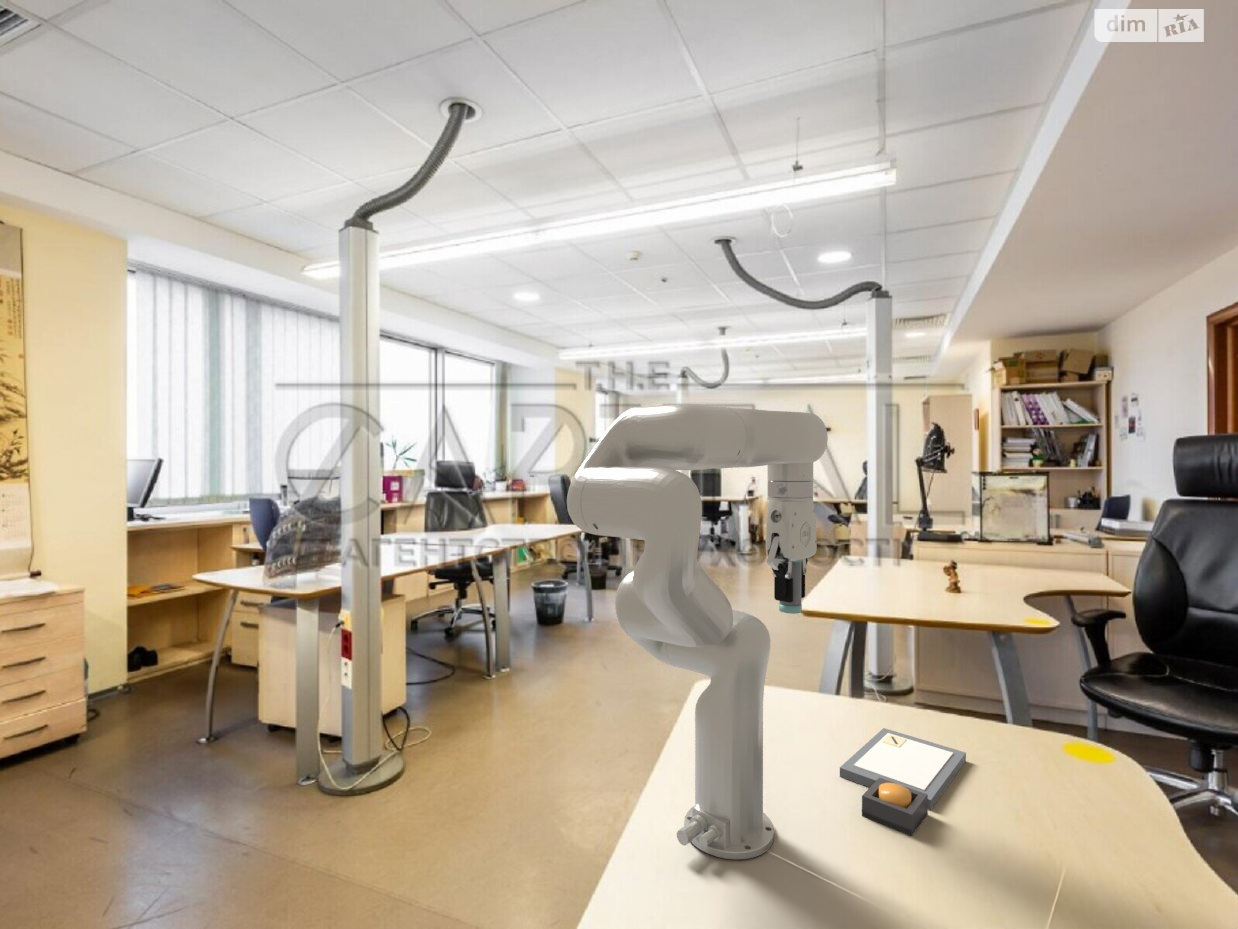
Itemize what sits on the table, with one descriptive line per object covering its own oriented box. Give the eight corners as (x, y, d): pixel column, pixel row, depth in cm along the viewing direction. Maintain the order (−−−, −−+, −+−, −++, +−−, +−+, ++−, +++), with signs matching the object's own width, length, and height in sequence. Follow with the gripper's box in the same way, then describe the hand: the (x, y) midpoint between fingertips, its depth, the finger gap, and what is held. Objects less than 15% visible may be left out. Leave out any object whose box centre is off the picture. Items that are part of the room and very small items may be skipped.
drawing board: (930, 810, 91) (930, 798, 91) (839, 776, 100) (839, 765, 100) (965, 761, 105) (965, 750, 105) (883, 735, 115) (883, 726, 115)
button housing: (911, 836, 85) (912, 815, 85) (861, 815, 89) (862, 795, 89) (927, 814, 90) (927, 794, 90) (879, 796, 95) (879, 777, 95)
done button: (905, 819, 87) (905, 802, 86) (874, 807, 90) (874, 791, 89) (915, 806, 90) (915, 790, 90) (884, 795, 93) (885, 779, 93)
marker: (795, 614, 100) (795, 548, 100) (774, 610, 103) (774, 546, 103) (806, 610, 103) (806, 546, 103) (785, 606, 106) (785, 544, 106)
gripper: (786, 494, 94) (786, 611, 94) (832, 490, 106) (831, 594, 106) (745, 492, 99) (744, 603, 100) (792, 488, 111) (792, 587, 112)
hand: (789, 597), depth 103 cm, fingers closed on marker, 3 cm apart
